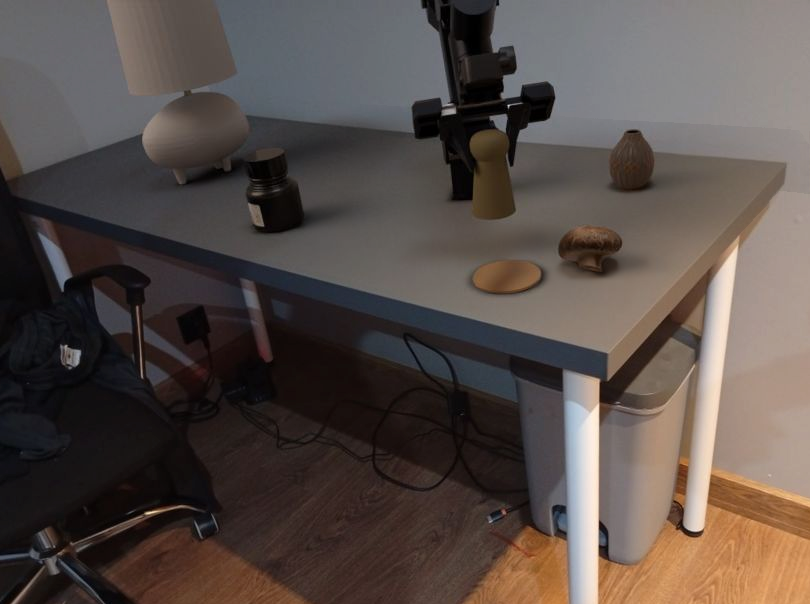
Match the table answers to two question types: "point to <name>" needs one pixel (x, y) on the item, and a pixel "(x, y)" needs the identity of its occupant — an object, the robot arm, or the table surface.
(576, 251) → the mushroom
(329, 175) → the table surface
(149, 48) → the table lamp
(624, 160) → the vase
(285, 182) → the ink bottle
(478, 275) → the coaster
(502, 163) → the pepper shaker
